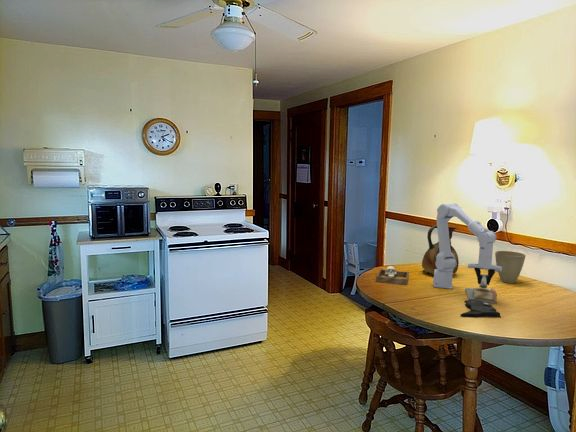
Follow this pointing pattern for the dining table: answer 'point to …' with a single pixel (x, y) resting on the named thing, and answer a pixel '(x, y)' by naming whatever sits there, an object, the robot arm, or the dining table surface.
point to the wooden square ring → (482, 293)
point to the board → (470, 297)
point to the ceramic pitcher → (437, 252)
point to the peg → (483, 281)
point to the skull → (390, 272)
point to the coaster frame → (393, 280)
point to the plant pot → (509, 265)
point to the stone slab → (480, 309)
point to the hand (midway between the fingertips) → (483, 284)
